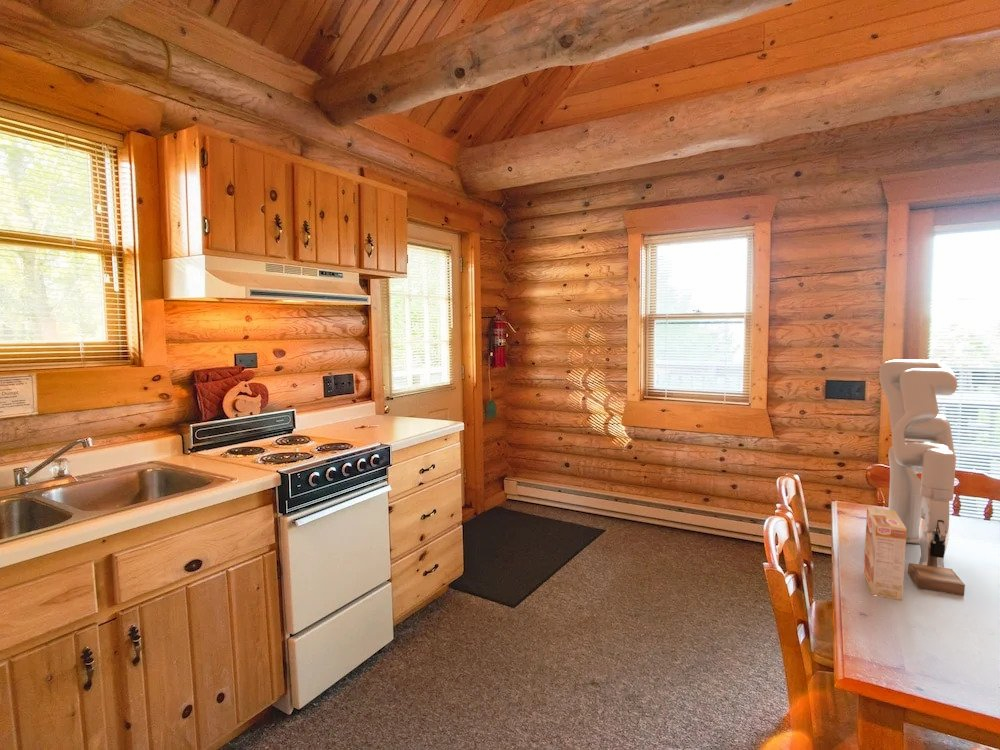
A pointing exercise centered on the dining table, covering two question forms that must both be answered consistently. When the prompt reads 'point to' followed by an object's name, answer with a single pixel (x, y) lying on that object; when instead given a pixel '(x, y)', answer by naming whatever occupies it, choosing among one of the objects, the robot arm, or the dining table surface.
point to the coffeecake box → (885, 553)
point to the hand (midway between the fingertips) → (932, 550)
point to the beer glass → (925, 543)
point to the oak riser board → (936, 579)
